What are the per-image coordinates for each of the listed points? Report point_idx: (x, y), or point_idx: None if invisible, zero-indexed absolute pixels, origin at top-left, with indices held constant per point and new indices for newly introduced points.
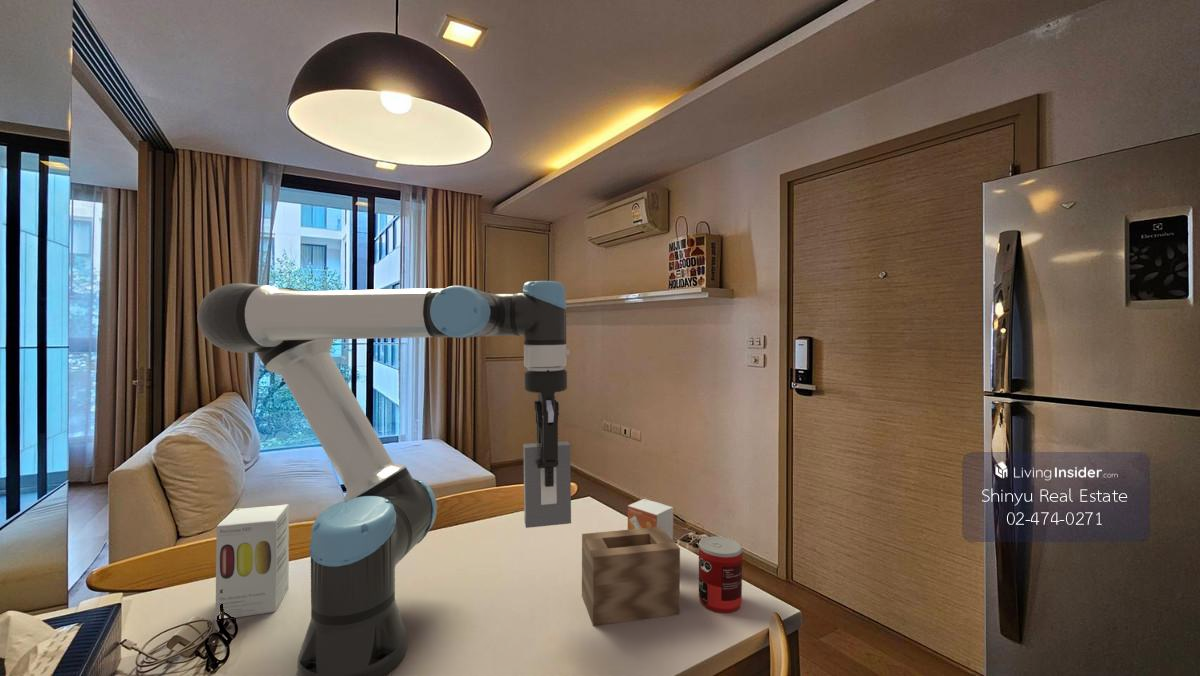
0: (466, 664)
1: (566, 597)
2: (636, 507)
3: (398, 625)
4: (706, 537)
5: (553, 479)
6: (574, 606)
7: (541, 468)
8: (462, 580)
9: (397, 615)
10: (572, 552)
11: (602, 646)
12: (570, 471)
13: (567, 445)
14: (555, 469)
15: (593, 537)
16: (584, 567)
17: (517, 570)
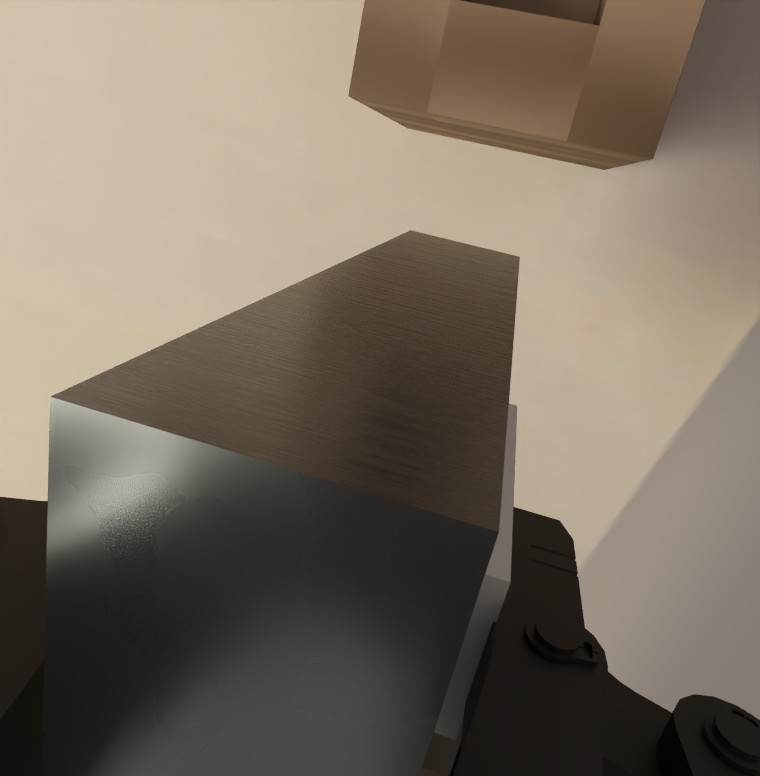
0: (578, 557)
1: (394, 187)
2: None
3: (461, 732)
4: None
5: (576, 566)
6: (460, 183)
7: (458, 722)
8: None
9: (444, 747)
10: (81, 27)
11: (726, 188)
12: (511, 340)
13: (479, 588)
14: (510, 568)
15: (420, 48)
16: (439, 126)
17: (158, 285)
